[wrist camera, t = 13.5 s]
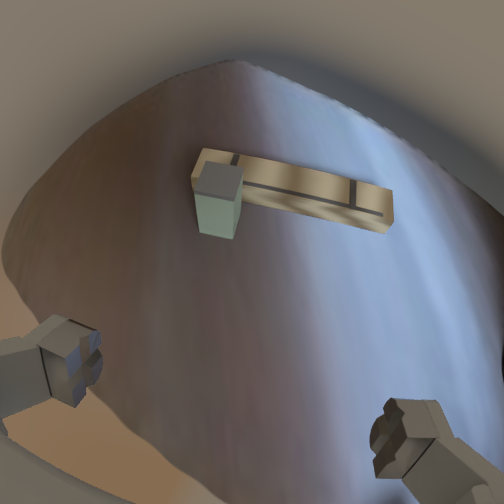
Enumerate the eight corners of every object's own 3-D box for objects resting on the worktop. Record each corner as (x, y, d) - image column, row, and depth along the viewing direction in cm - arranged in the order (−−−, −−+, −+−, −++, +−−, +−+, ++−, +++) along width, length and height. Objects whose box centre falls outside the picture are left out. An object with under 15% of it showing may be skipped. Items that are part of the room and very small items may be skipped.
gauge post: (240, 211, 39) (243, 167, 32) (232, 239, 38) (234, 198, 30) (208, 204, 40) (205, 160, 32) (199, 232, 38) (193, 190, 31)
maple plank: (383, 203, 42) (392, 189, 39) (384, 234, 39) (394, 221, 37) (204, 163, 43) (203, 147, 40) (192, 191, 40) (190, 175, 38)
